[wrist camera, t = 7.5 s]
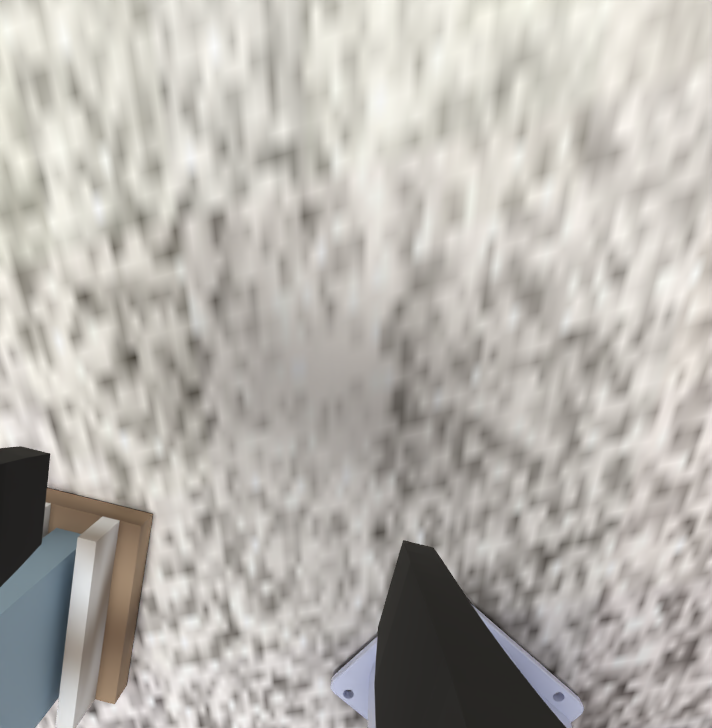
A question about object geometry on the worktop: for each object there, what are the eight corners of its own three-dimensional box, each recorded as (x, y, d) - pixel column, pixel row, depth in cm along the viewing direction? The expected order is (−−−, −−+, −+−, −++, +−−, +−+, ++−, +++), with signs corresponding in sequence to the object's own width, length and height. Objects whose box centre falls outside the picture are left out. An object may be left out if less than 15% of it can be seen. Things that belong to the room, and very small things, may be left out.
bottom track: (30, 483, 20) (-21, 512, 18) (153, 514, 20) (119, 547, 18) (14, 657, 22) (-33, 705, 20) (126, 685, 22) (93, 738, 19)
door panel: (72, 679, 21) (-48, 834, 15) (41, 671, 21) (-92, 823, 15) (90, 536, 19) (-37, 646, 13) (56, 527, 19) (-86, 634, 14)
